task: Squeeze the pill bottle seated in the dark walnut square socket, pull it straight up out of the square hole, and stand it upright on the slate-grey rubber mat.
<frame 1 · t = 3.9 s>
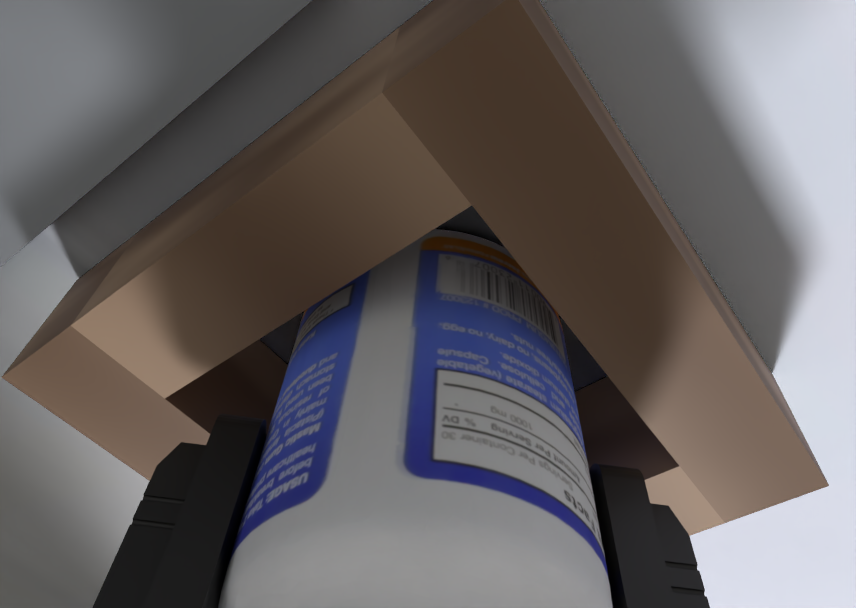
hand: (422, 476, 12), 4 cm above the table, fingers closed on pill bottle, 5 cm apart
pill bottle: (433, 322, 15), resting in walnut socket, touching gripper
walnut socket: (433, 328, 15), on the table
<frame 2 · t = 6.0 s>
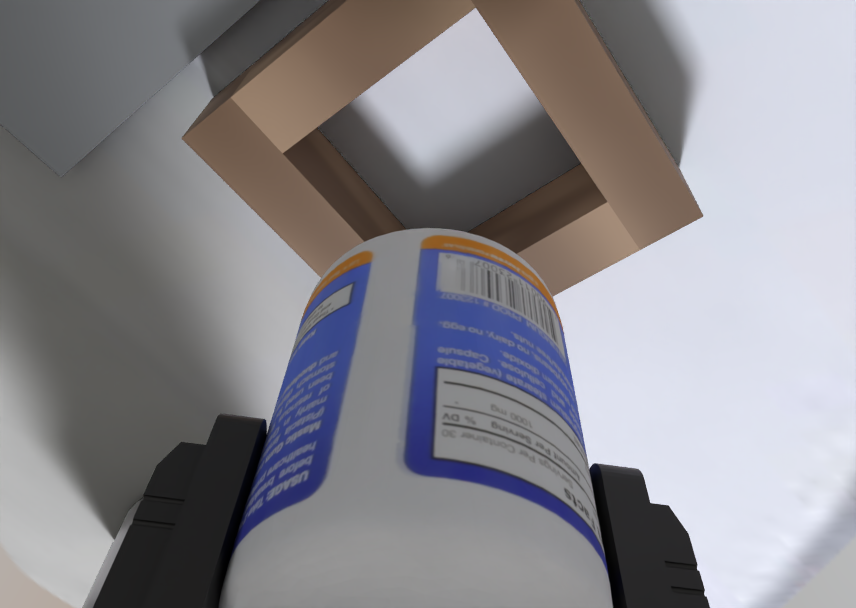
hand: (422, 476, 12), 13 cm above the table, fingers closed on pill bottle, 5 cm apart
pill bottle: (434, 321, 15), point 9 cm above the table, touching gripper
walnut socket: (449, 134, 23), on the table
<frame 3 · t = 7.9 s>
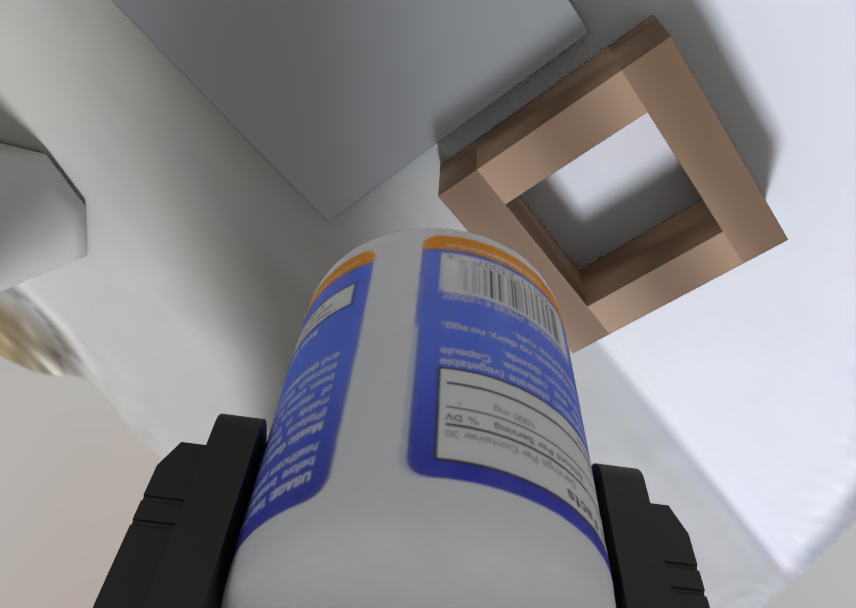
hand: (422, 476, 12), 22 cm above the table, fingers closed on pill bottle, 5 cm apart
pill bottle: (435, 321, 15), point 18 cm above the table, touching gripper
slate mat: (347, 4, 28), on the table
flask: (18, 204, 35), on the table
walnut socket: (603, 185, 32), on the table
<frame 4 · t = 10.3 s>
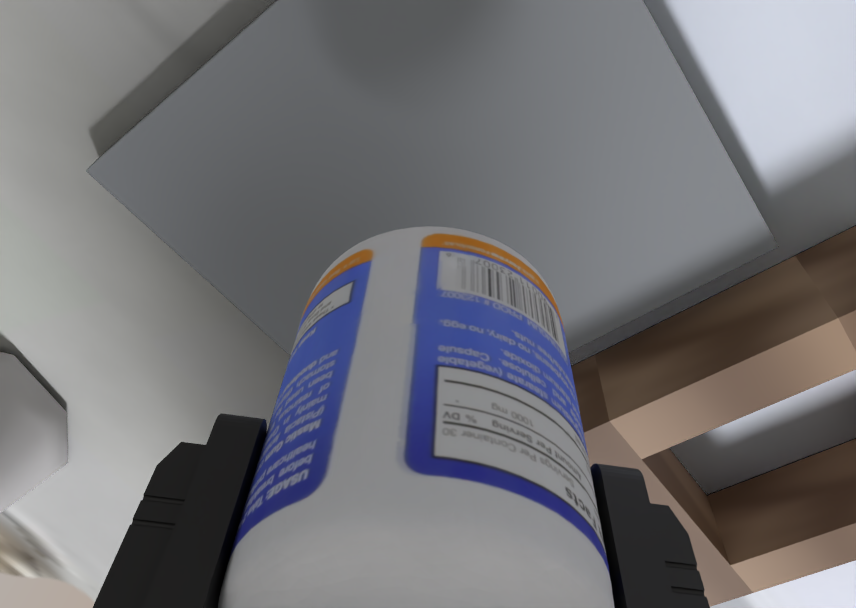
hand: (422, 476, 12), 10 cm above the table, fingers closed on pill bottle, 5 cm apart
pill bottle: (434, 320, 15), point 6 cm above the table, touching gripper
slate mat: (437, 195, 20), on the table
walnut socket: (756, 409, 24), on the table
when the fingers open (6 cm above the table, at t = 12.0 s): pill bottle drops 1 cm, resting on slate mat.
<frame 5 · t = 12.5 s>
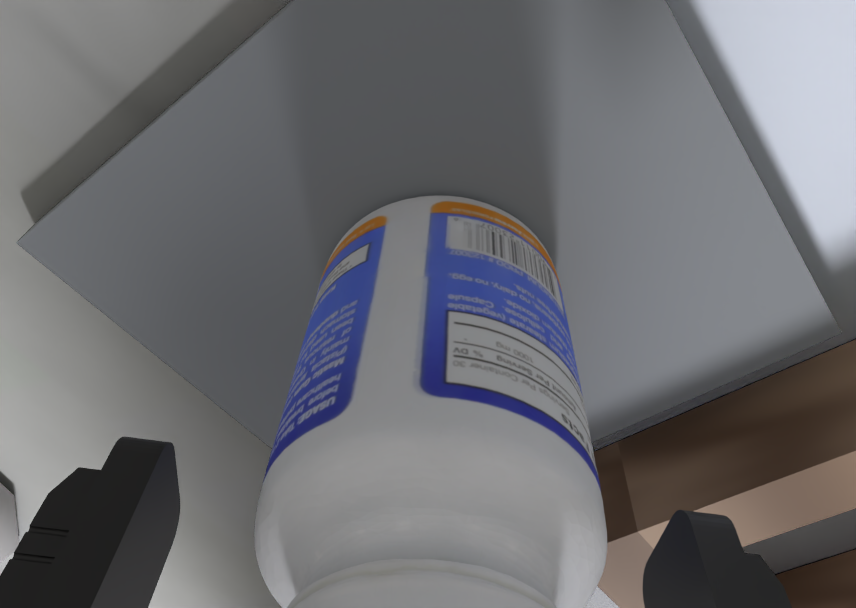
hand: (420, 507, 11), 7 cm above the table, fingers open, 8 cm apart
pill bottle: (441, 285, 17), point 1 cm above the table, touching slate mat
slate mat: (436, 269, 17), on the table
walnut socket: (801, 499, 21), on the table
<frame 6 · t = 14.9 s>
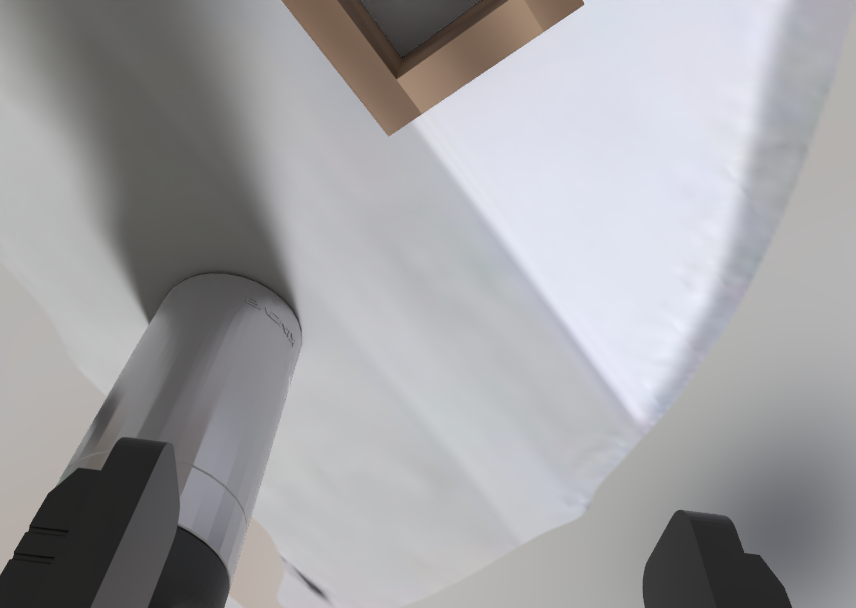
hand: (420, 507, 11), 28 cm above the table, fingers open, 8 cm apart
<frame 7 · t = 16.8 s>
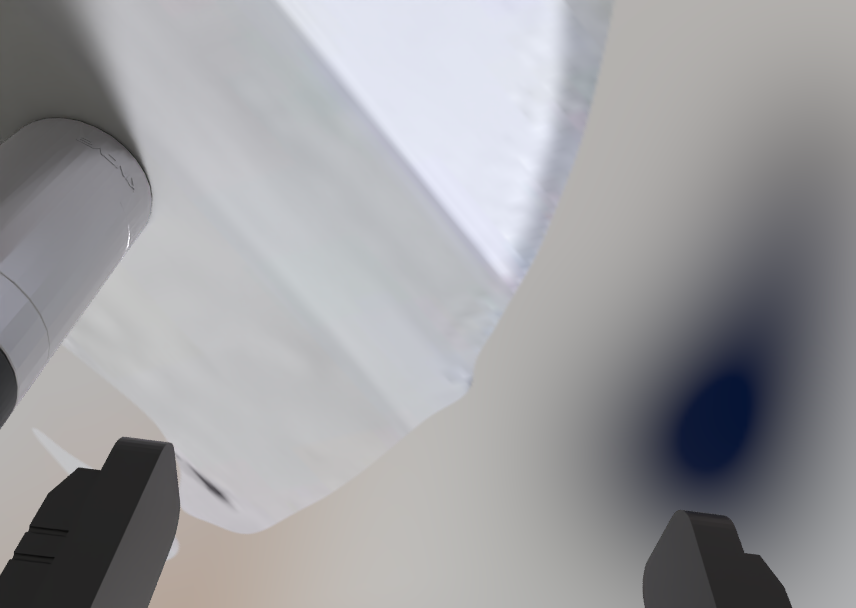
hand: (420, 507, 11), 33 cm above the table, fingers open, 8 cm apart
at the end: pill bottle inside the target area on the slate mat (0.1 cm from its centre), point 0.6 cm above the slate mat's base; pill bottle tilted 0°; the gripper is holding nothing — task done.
